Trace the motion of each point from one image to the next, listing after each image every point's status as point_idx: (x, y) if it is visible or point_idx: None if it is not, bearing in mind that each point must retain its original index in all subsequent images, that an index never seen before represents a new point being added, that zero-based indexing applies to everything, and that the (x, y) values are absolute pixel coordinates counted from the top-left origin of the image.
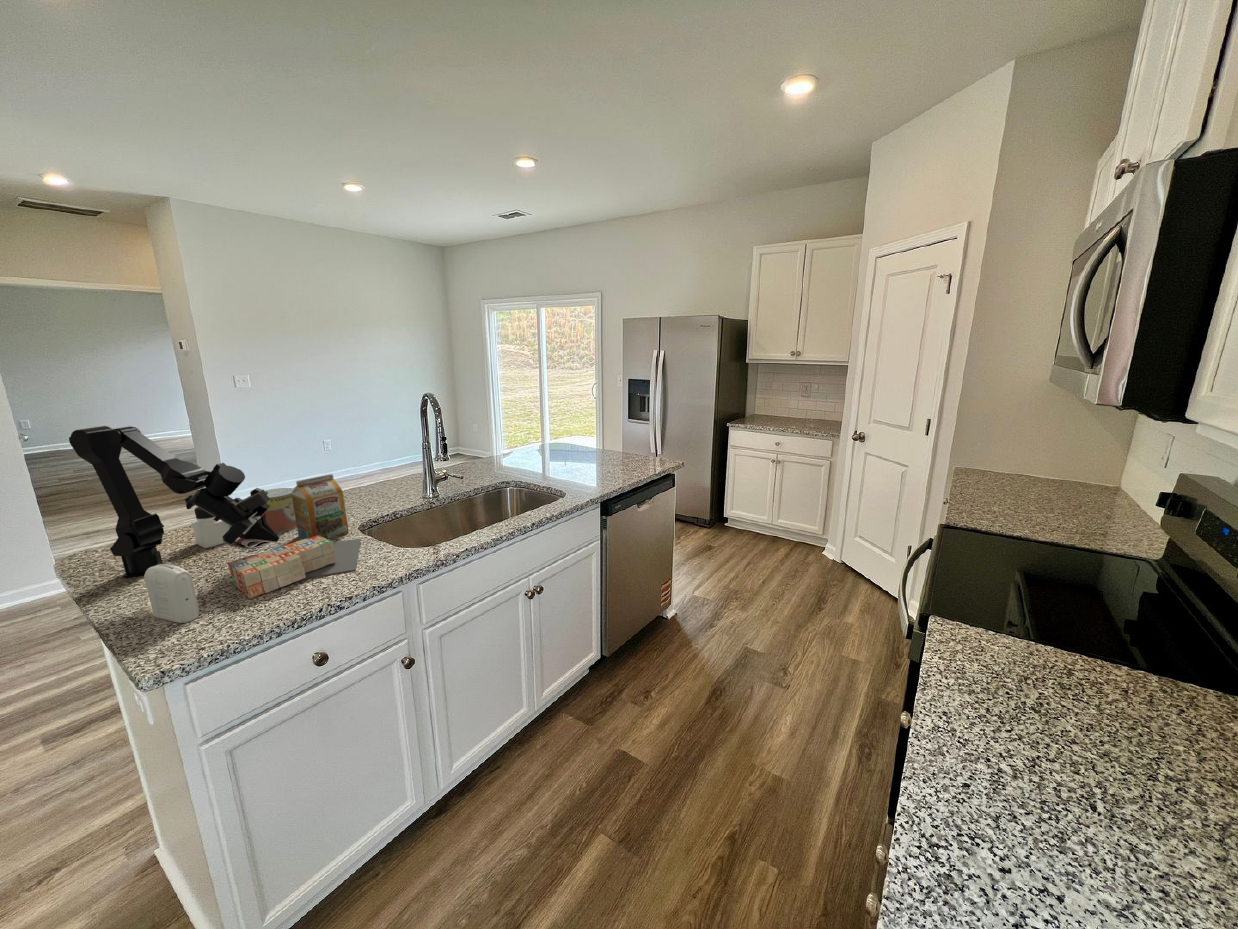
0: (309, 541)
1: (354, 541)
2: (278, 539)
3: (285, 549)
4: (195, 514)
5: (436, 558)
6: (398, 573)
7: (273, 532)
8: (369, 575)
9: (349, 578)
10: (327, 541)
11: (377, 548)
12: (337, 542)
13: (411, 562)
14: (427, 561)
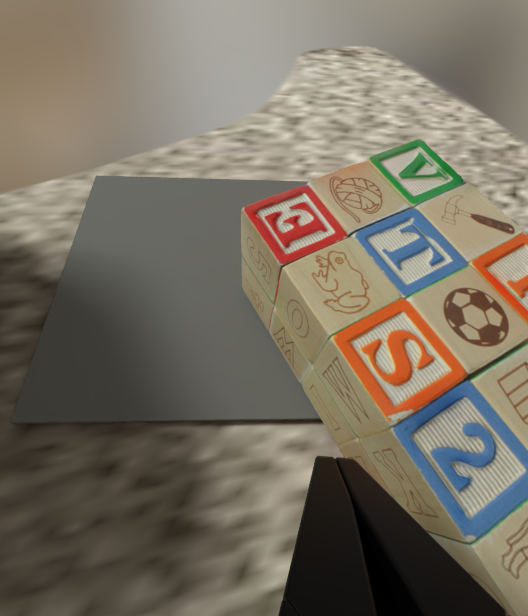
0: (366, 240)
1: (121, 192)
2: (350, 461)
3: (490, 380)
4: None
5: (388, 56)
6: (473, 113)
7: (341, 527)
8: (479, 162)
9: (498, 204)
10: (404, 159)
11: (241, 142)
12: (82, 247)
13: (401, 89)
14: (403, 68)
